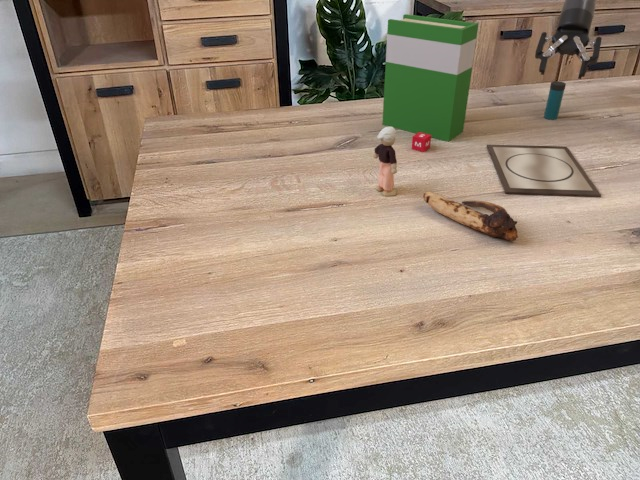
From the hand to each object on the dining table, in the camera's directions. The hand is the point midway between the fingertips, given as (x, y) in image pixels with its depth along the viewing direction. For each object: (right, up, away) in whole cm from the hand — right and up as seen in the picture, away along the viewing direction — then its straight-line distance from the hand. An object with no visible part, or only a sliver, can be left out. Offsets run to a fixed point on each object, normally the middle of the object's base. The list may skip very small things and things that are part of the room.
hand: (561, 75), depth 130 cm
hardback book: (-34, -14, -2) cm, 37 cm away
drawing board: (-15, -26, -22) cm, 37 cm away
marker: (-2, -10, +2) cm, 10 cm away
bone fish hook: (-33, -37, -38) cm, 62 cm away
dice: (-37, -20, -12) cm, 44 cm away
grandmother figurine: (-46, -31, -28) cm, 62 cm away
